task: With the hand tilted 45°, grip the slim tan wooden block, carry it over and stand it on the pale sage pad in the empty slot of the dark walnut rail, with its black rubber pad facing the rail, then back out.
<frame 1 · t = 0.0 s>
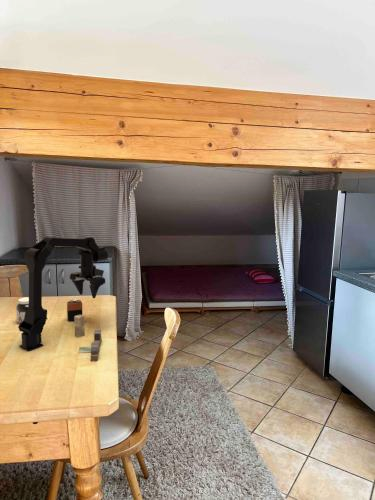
hand: (87, 296, 158), 15 cm above the table, tool pointing down, fingers open, 9 cm apart
spread jar: (31, 322, 164), on the table
tan wooden block: (79, 335, 149), on the table
rail: (96, 349, 136), on the table
battery: (74, 320, 169), on the table
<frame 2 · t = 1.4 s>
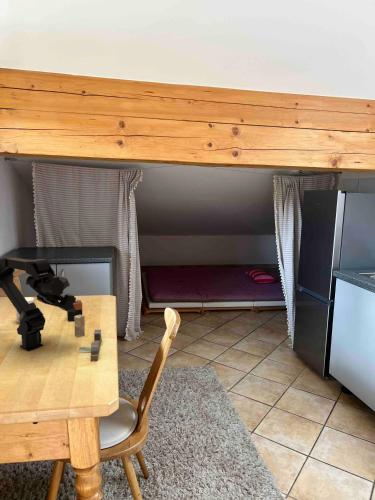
hand: (67, 308, 143), 14 cm above the table, tool tilted 45°, fingers open, 9 cm apart
nothing on the table moved.
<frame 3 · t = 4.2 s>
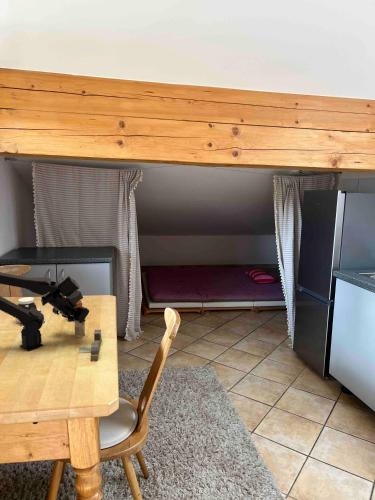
hand: (82, 320, 150), 7 cm above the table, tool tilted 45°, fingers closed on tan wooden block, 3 cm apart
tan wooden block: (79, 335, 149), on the table, touching gripper
everything else where it was.
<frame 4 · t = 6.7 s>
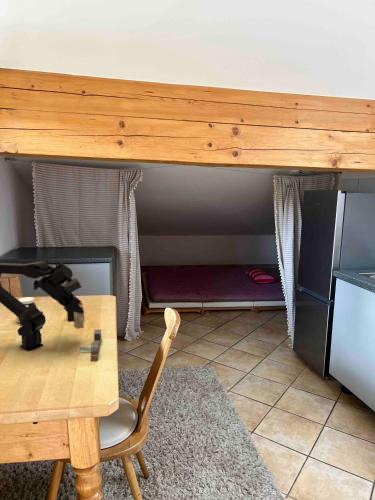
hand: (82, 311, 141), 13 cm above the table, tool tilted 45°, fingers closed on tan wooden block, 3 cm apart
tan wooden block: (78, 327, 141), point 7 cm above the table, touching gripper
everything else where it was.
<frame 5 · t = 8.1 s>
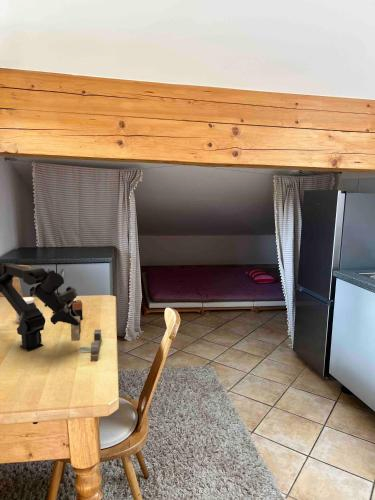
hand: (79, 323, 133), 11 cm above the table, tool tilted 45°, fingers closed on tan wooden block, 3 cm apart
tan wooden block: (75, 339, 134), point 5 cm above the table, touching gripper
everything else where it was.
when the fingers open (8 cm above the table, at t = 9.2 s): tan wooden block stays where it is, resting on rail.
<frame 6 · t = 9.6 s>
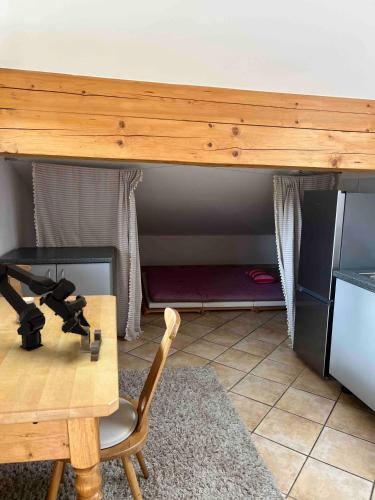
hand: (88, 331, 135), 8 cm above the table, tool tilted 45°, fingers open, 8 cm apart
tan wooden block: (85, 349, 136), resting on rail
everything else where it was.
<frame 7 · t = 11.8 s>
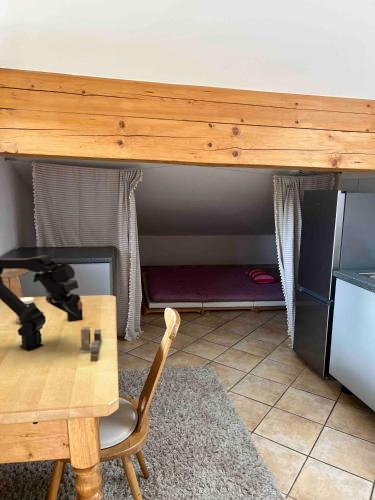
hand: (73, 313, 140), 13 cm above the table, tool tilted 30°, fingers open, 9 cm apart
nothing on the table moved.
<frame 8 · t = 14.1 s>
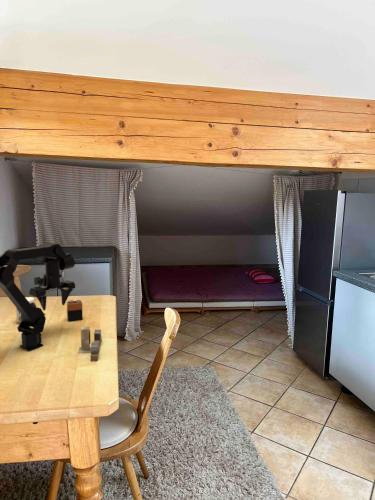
hand: (53, 307, 146), 13 cm above the table, tool pointing down, fingers open, 9 cm apart
nothing on the table moved.
at the end: tan wooden block 0.2 cm from the target spot on the rail, point 0.2 cm above the rail's base; tan wooden block tilted 0°; the gripper is holding nothing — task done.
